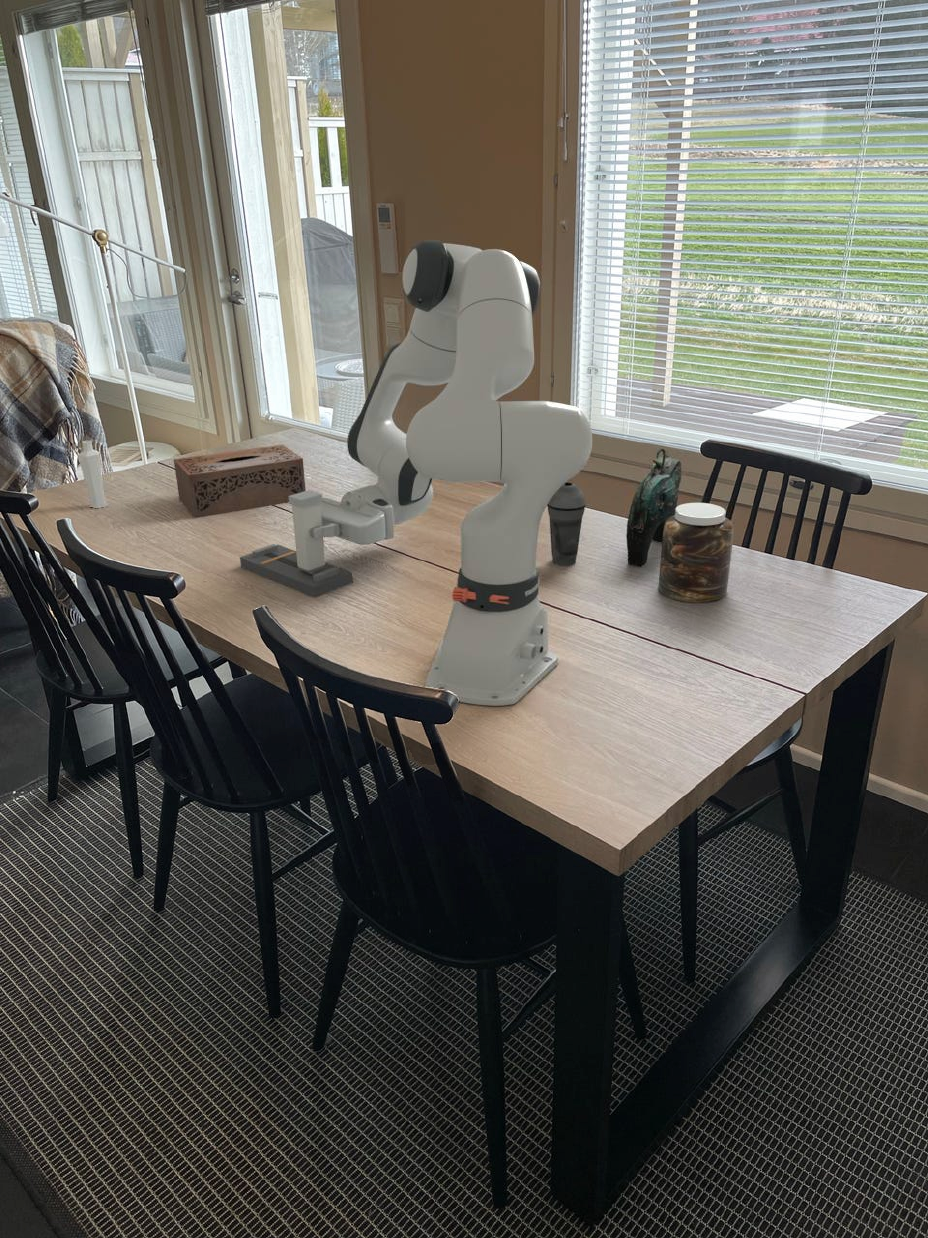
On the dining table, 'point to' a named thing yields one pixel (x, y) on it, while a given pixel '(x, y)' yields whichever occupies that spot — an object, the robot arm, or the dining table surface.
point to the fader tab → (308, 531)
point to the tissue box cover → (238, 480)
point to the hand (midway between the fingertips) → (304, 531)
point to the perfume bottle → (92, 475)
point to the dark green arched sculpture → (652, 507)
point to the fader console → (294, 571)
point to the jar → (696, 553)
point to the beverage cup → (566, 523)
